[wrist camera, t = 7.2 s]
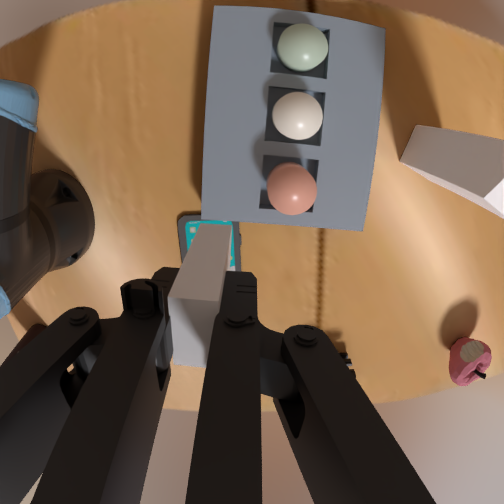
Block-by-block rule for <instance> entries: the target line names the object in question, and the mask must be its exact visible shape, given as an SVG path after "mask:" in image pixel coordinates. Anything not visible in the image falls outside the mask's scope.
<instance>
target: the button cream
mask: <svg viewBox="0 0 504 504" xmlns="http://www.w3.org/2000/svg"><path fill="white" fill-rule="evenodd" d="M271 118H272V122H273V125H274V126H275V128H276V129H277V130H278V131H279V132H280V133H281V134H283V135H285V136H286V137H288V138H291V139H295V140H303V139H307V138H309V137H311V136H313V135H314V134H315V133H316V132H317V131H318V130H319V128H320V126H321V124H322V120H323V113H322V109H321V106H320V105H319V103H318V102H317V100H316V99H315V98H313V97H312V96H310V95H309V94H306V93H303V92H292V93H289V94H286V95H284V96H283V97H282V98H280V99H279V100H278V101H277V102H276V103H275V104H274V106H273V108H272V113H271Z"/></svg>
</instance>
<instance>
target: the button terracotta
mask: <svg viewBox="0 0 504 504" xmlns="http://www.w3.org/2000/svg"><path fill="white" fill-rule="evenodd" d="M266 186H267V192H268V197H269V200H270V202H271V204H272V205H273V207H274V208H275V209H276V210H278V211H279V212H281V213H283V214H287V215H297V214H301V213H303V212H305V211H307V210H308V209H309V208H310V207H311V206H312V205H313V203H314V201H315V199H316V196H317V186H316V182H315V180H314V178H313V177H312V176H311V175H310V173H309V172H308V171H307V170H306V169H305V168H304V167H303V166H301V165H300V164H297V163H295V162H283V163H280V164H278V165H276V166H275V167H274V168H273V169H272V170H271V171H270V172H269V174H268V177H267V181H266Z"/></svg>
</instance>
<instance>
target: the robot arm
mask: <svg viewBox="0 0 504 504" xmlns="http://www.w3.org/2000/svg"><path fill="white" fill-rule="evenodd" d="M38 105H39V96H38V93H37V91H36V90H35V88H34V87H32V86H31V85H28V84H24V83H20V82H16V81H10V80H4V79H0V319H1V318H2V317H3V316H5V315H7V314H9V312H10V311H11V309H12V308H13V307H14V306H15V305H16V304H17V303H18V302H19V301H20V300H21V299H22V298H23V297H24V296H25V294H26V293H27V292H28V291H29V290H30V289H31V288H32V287H33V286H34V285H35V284H36V283H37V282H38V281H39V280H40V279H41V278H42V277H43V276H44V275H45V274H46V273H47V272H51V271H54V270H58V269H61V268H65V267H68V266H70V265H72V264H73V263H75V262H76V261H77V260H79V259H80V258H81V257H82V256H83V255H84V254H85V253H86V251H87V250H88V249H89V247H90V245H91V243H92V240H93V236H94V230H95V220H94V213H93V208H92V205H91V202H90V200H89V198H88V196H87V194H86V192H85V190H84V189H83V188H82V186H81V185H80V184H79V183H78V182H77V181H76V180H75V179H74V178H73V177H72V176H70V175H69V174H67V173H65V172H63V171H60V170H55V169H47V170H43V171H40V172H37V173H35V174H32V175H31V169H32V158H33V149H34V141H35V134H36V132H37V127H36V124H37V113H38ZM231 237H232V225H221V224H204V223H200V226H199V228H198V230H197V232H196V234H195V236H194V239H193V241H192V243H191V245H190V247H189V249H188V252H187V254H186V256H185V258H184V261H183V263H182V265H181V267H180V268H170V267H162V268H161V269H159V270H158V271H156V272H155V273H154V275H153V277H152V279H135V280H131V281H129V282H126V283H124V284H123V285H122V286H121V287H120V289H121V296H122V303H123V309H124V311H123V312H122V314H121V316H120V317H117V318H109V319H99V315H98V313H97V311H96V310H94V309H92V308H90V307H76V308H72V309H70V310H68V311H66V312H65V313H63V314H62V315H61V316H60V317H59V318H57V319H56V320H55V321H54V322H53V323H51V324H50V325H49V326H48V327H47V328H45V329H44V330H43V331H42V332H41V333H40V334H38V335H37V336H36V337H35V338H34V339H33V340H31V341H30V342H29V343H28V344H27V345H26V346H25V347H23V348H22V349H21V350H20V351H19V352H18V353H17V354H16V355H14V356H13V357H12V358H11V359H10V360H9V361H8V362H7V363H6V364H5V365H3V366H2V367H1V368H0V504H20V502H21V501H22V500H23V498H24V497H25V496H26V494H27V493H28V492H29V490H30V489H31V488H32V486H33V485H34V484H35V482H36V481H37V480H38V478H39V477H40V475H41V474H42V473H43V474H42V477H41V479H40V482H39V484H38V487H37V489H36V492H35V494H34V497H33V499H32V501H31V503H30V504H140V500H141V495H142V491H143V486H144V481H145V477H146V473H147V469H148V464H149V460H150V456H151V451H152V447H153V443H154V439H155V435H156V430H157V427H158V423H159V419H160V415H161V411H162V407H163V403H164V399H165V395H166V392H167V388H168V384H169V380H170V377H171V368H170V361H171V358H172V354H173V362H174V364H175V365H184V366H194V367H204V368H206V371H205V377H204V383H203V389H202V395H201V401H200V408H199V414H198V420H197V426H196V433H195V440H194V446H193V453H192V459H191V466H190V473H189V480H188V487H187V494H186V501H185V504H262V455H261V454H262V451H261V394H264V395H267V396H271V397H273V402H274V404H275V407H276V410H277V412H278V415H279V417H280V420H281V422H282V425H283V428H284V430H285V432H286V435H287V438H288V440H289V443H290V445H291V448H292V450H293V453H294V455H295V458H296V460H297V463H298V465H299V468H300V470H301V472H302V475H303V478H304V480H305V482H306V485H307V487H308V490H309V492H310V494H311V497H312V499H313V501H314V504H436V502H435V501H434V499H433V498H432V496H431V495H430V493H429V491H428V490H427V488H426V487H425V485H424V484H423V482H422V481H421V479H420V477H419V476H418V474H417V472H416V471H415V469H414V468H413V466H412V465H411V463H410V461H409V460H408V458H407V457H406V455H405V454H404V452H403V451H402V449H401V447H400V446H399V444H398V443H397V441H396V440H395V438H394V437H393V435H392V434H391V432H390V430H389V429H388V427H387V426H386V424H385V423H384V421H383V420H382V418H381V416H380V415H379V413H378V412H377V410H376V409H375V408H374V406H373V404H372V403H371V401H370V400H369V398H368V397H367V395H366V393H365V392H364V390H363V389H362V387H361V386H360V384H359V383H358V381H357V380H356V378H355V377H354V375H353V374H352V372H351V371H350V369H349V368H348V366H347V365H346V363H345V362H344V360H343V359H342V357H341V356H340V354H339V353H338V351H337V350H336V348H335V347H334V345H333V344H332V342H331V341H330V339H329V338H328V336H327V335H326V334H325V333H324V332H323V331H322V330H320V329H318V328H316V327H314V326H309V325H295V326H291V327H290V328H288V329H287V330H285V332H284V334H283V333H279V332H275V331H273V330H270V329H268V328H266V327H265V326H263V325H262V324H261V323H260V321H259V320H258V316H257V279H256V277H255V276H254V275H253V274H252V272H240V271H230V258H231ZM72 363H73V366H74V368H73V369H72V370H71V371H70V372H68V371H67V368H68V367H69V366H70V365H71V364H72Z"/></svg>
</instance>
